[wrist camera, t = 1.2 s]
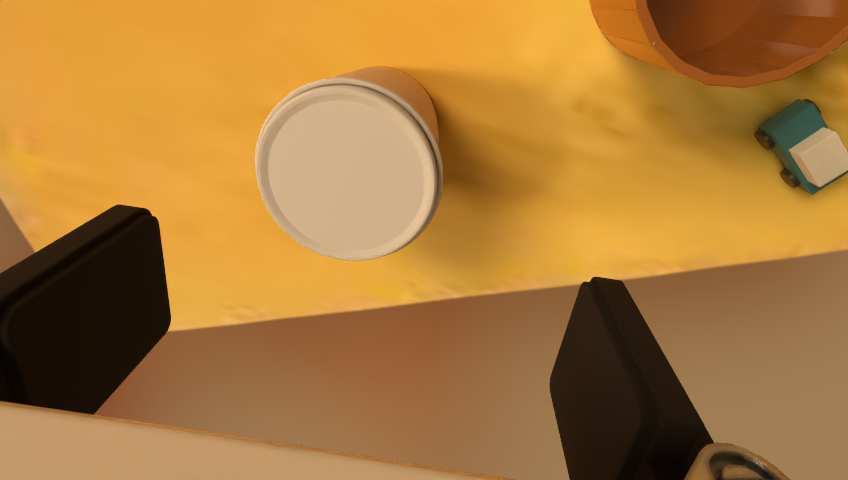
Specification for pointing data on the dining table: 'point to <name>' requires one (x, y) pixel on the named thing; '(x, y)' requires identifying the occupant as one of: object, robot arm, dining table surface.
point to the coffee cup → (352, 163)
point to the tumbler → (725, 36)
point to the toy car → (804, 146)
